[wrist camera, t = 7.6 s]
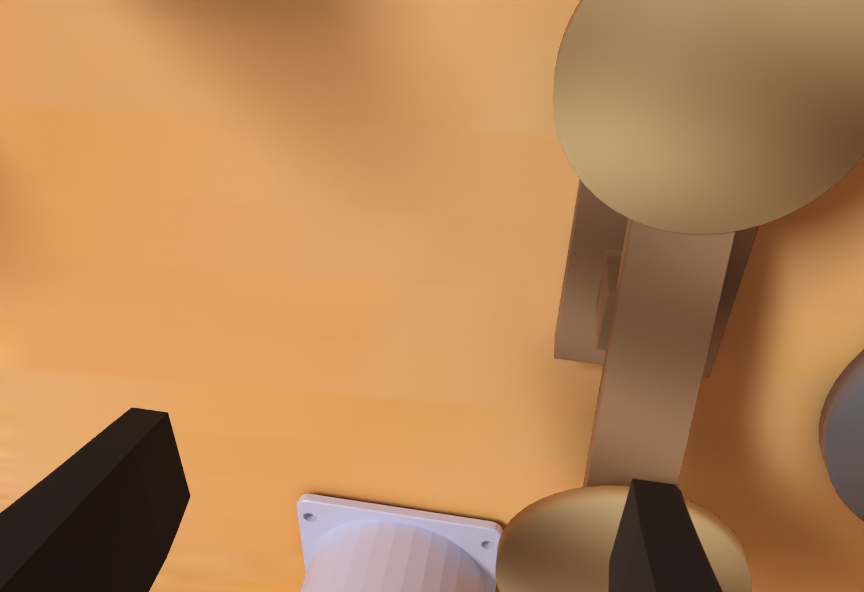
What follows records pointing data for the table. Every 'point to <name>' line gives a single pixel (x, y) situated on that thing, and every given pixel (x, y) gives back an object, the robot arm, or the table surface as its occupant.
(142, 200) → the table surface
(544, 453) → the table surface
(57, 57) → the table surface
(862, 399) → the dish
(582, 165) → the balance
